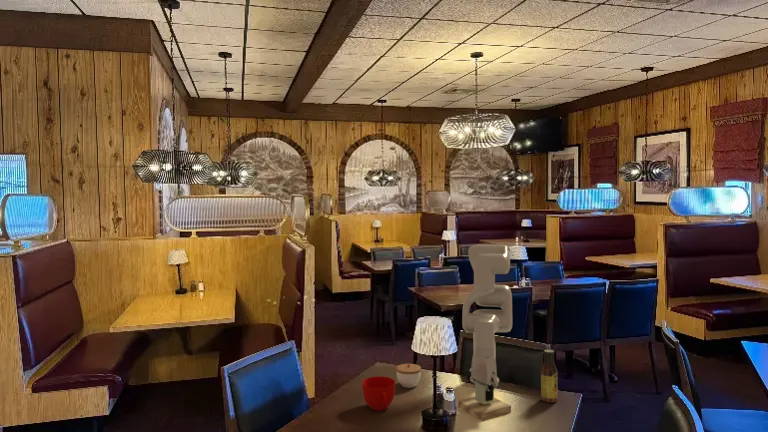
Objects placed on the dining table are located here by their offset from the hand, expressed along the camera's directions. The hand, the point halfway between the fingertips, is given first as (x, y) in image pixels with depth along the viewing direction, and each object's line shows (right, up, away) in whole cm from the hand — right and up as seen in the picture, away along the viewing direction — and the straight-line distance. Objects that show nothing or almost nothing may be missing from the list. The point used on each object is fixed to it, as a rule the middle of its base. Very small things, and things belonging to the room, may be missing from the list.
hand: (484, 397), depth 210 cm
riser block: (0, -5, 0) cm, 5 cm away
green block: (0, -1, 0) cm, 1 cm away
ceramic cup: (-40, -5, +2) cm, 40 cm away
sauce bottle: (+27, -4, +9) cm, 29 cm away
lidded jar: (-28, -4, +27) cm, 39 cm away
